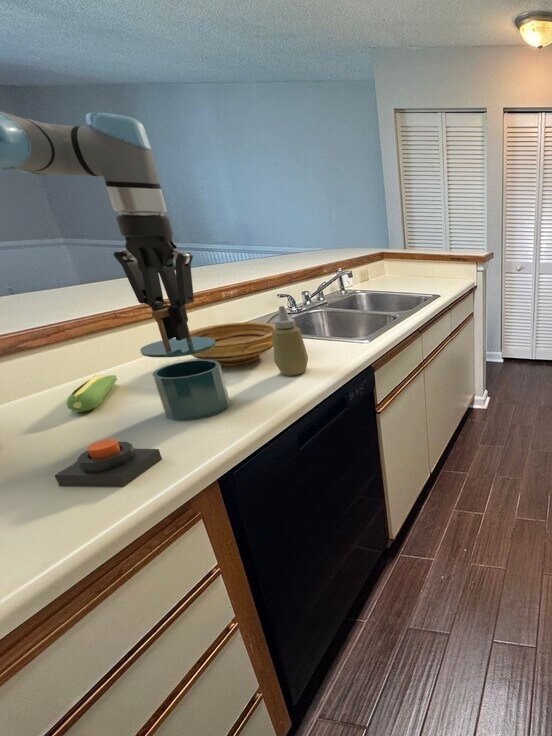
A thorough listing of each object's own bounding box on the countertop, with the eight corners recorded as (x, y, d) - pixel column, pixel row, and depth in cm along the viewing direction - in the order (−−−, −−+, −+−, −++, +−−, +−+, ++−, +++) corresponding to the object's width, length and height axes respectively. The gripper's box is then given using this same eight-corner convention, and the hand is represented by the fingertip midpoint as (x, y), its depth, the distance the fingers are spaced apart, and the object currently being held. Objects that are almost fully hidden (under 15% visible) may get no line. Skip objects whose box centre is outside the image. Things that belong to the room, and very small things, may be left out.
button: (84, 459, 67) (80, 450, 66) (104, 447, 70) (100, 438, 69) (107, 459, 67) (103, 450, 66) (126, 448, 70) (123, 438, 70)
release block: (59, 486, 66) (49, 465, 65) (104, 459, 74) (96, 439, 72) (124, 487, 66) (115, 466, 65) (162, 459, 74) (155, 439, 72)
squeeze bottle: (316, 371, 115) (305, 305, 108) (288, 380, 108) (275, 311, 101) (299, 365, 119) (287, 301, 112) (270, 373, 112) (256, 306, 105)
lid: (124, 359, 81) (109, 313, 78) (172, 341, 92) (160, 300, 89) (190, 361, 81) (177, 315, 78) (229, 342, 93) (219, 301, 89)
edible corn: (64, 419, 87) (56, 398, 85) (98, 384, 103) (92, 367, 101) (97, 414, 89) (89, 394, 87) (126, 381, 105) (119, 364, 103)
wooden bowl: (307, 356, 126) (303, 330, 123) (224, 382, 106) (216, 352, 103) (247, 341, 139) (241, 317, 135) (162, 361, 119) (153, 334, 116)
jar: (152, 420, 87) (137, 378, 83) (190, 398, 97) (179, 359, 94) (208, 421, 87) (196, 379, 83) (240, 398, 97) (231, 360, 94)
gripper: (197, 215, 81) (225, 334, 89) (118, 212, 80) (154, 332, 89) (167, 215, 74) (201, 344, 83) (81, 212, 73) (124, 342, 82)
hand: (177, 338), depth 86 cm, fingers closed on lid, 2 cm apart
